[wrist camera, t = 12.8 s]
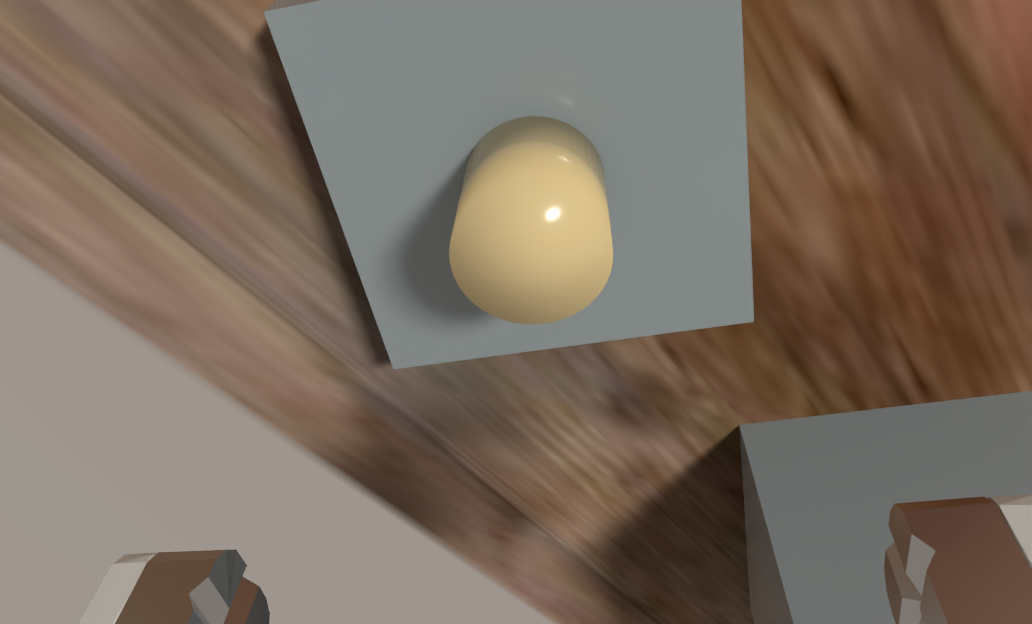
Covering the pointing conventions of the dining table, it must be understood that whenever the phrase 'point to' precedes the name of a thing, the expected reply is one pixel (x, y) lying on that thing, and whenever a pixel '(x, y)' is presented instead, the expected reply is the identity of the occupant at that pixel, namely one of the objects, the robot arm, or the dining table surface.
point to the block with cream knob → (530, 165)
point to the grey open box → (864, 496)
